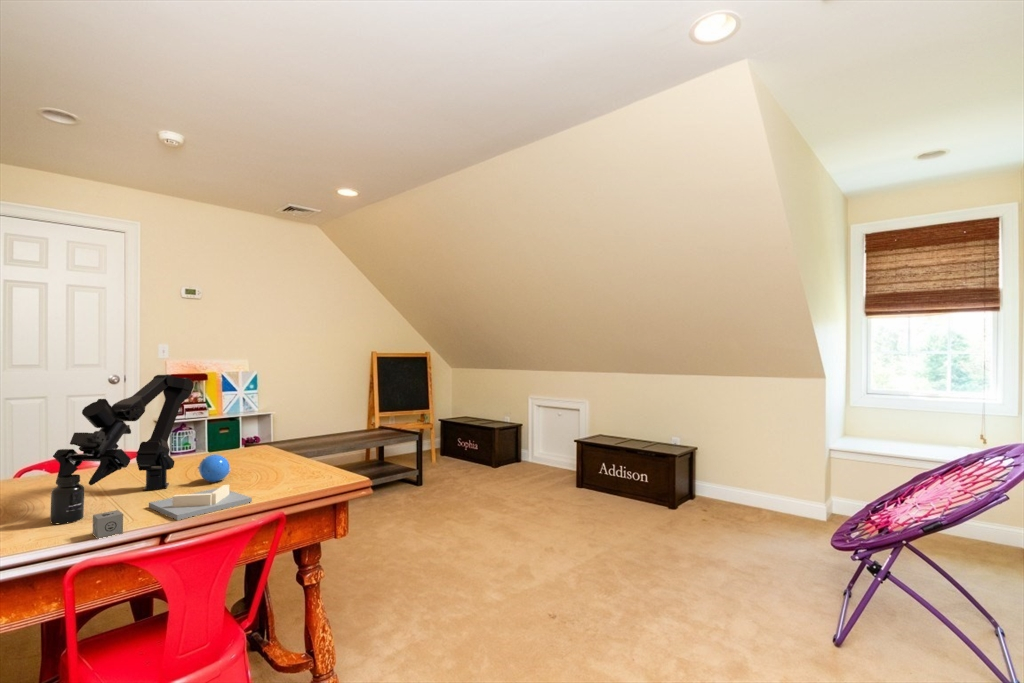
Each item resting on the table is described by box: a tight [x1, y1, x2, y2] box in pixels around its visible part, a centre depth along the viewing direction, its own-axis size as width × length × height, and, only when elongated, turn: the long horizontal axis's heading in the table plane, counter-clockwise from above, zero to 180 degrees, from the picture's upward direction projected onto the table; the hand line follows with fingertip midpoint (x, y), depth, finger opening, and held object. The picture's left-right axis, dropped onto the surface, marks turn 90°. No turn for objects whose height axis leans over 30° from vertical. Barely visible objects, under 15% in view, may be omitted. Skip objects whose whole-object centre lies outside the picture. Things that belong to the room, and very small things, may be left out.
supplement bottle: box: [49, 473, 85, 524], centre depth 137 cm, size 7×7×12 cm
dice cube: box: [92, 509, 124, 540], centre depth 127 cm, size 5×5×5 cm
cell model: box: [197, 454, 232, 483], centre depth 179 cm, size 10×12×10 cm
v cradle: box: [148, 484, 253, 521], centre depth 151 cm, size 20×20×4 cm
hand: (73, 484), depth 139 cm, fingers open, 9 cm apart
